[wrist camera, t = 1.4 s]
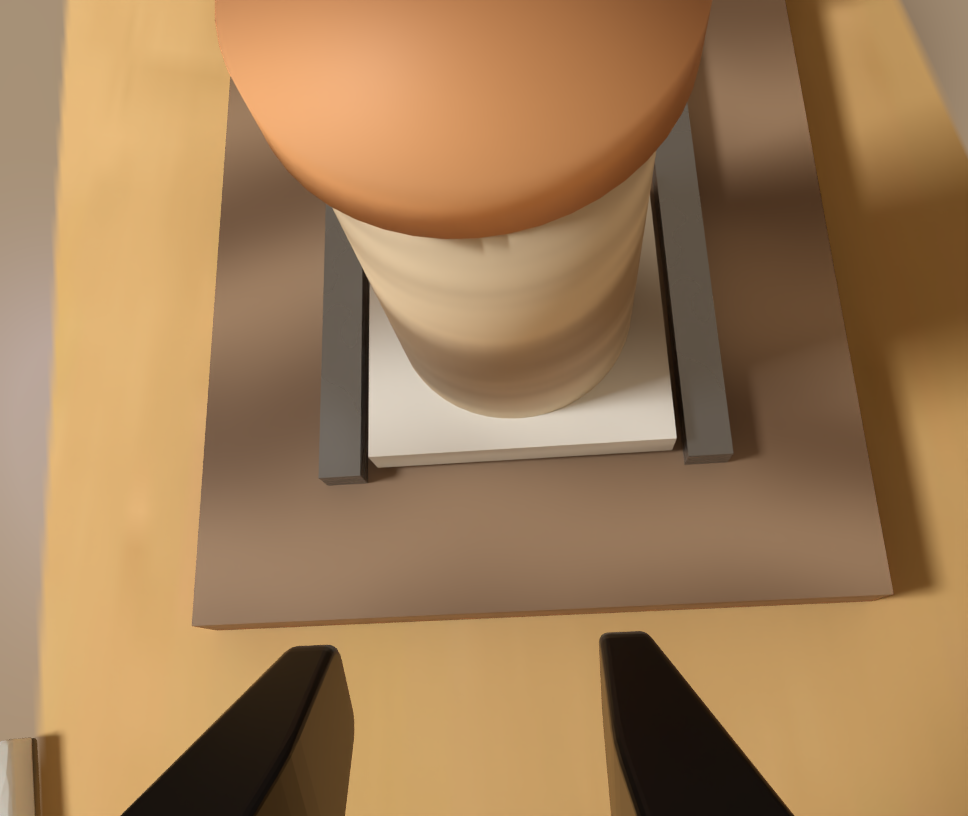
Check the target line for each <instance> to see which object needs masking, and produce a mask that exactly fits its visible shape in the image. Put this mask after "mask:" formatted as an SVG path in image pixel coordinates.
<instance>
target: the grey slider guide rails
mask: <svg viewBox="0 0 968 816" xmlns="http://www.w3.org/2000/svg"><path fill="white" fill-rule="evenodd" d="M652 181H653V190H654V199H655V208H656V216H657V225H658V234H659V243H660V252H661V261H662V270H663V279H664V288H665V297H666V305H667V314H668V323H669V332H670V341H671V350H672V359H673V368H674V377H675V386H676V394H677V403H678V412H679V421H680V430H681V439H682V448H683V457H684V465H690V464H707V463H725V462H728V461H729V459H730V458H731V456H732V455H733V446H732V438H731V431H730V423H729V416H728V408H727V400H726V393H725V385H724V378H723V370H722V362H721V355H720V347H719V340H718V332H717V324H716V317H715V309H714V302H713V294H712V286H711V279H710V271H709V264H708V256H707V248H706V241H705V233H704V226H703V218H702V210H701V203H700V195H699V188H698V180H697V172H696V165H695V157H694V150H693V142H692V134H691V127H690V119H689V112H688V104H687V103H686V106H685V108H684V110H683V112H682V114H681V116H680V118H679V119H678V121H677V122H676V124H675V126H674V127H673V129H672V130H671V132H670V133H669V135H668V137H667V138H666V139H665V140H664V142H663V143H662V144H661V145H660V146H659V148H658V149H657V150H656V156H655V162H654V169H653V176H652ZM368 409H369V280H368V278H367V276H366V274H365V272H364V270H363V268H362V266H361V264H360V262H359V260H358V258H357V256H356V254H355V252H354V250H353V248H352V246H351V244H350V242H349V240H348V238H347V236H346V234H345V232H344V230H343V228H342V226H341V224H340V222H339V220H338V218H337V216H336V214H335V212H334V210H333V208H332V207H330V206H329V205H327V204H326V212H325V250H324V288H323V326H322V364H321V402H320V440H319V477H318V478H319V479H320V480H321V481H323V482H324V483H325V484H326V485H327V486H331V485H349V484H366V483H368Z"/></svg>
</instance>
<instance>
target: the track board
mask: <svg viewBox="0 0 968 816" xmlns="http://www.w3.org/2000/svg"><path fill="white" fill-rule="evenodd" d="M687 104H688V112H689V119H690V127H691V134H692V142H693V150H694V157H695V165H696V172H697V180H698V188H699V195H700V203H701V210H702V218H703V226H704V233H705V241H706V248H707V256H708V264H709V271H710V279H711V286H712V294H713V302H714V309H715V317H716V324H717V332H718V340H719V347H720V355H721V362H722V370H723V378H724V385H725V393H726V400H727V408H728V416H729V423H730V431H731V438H732V446H733V455H732V456H731V458H730V459H729V461H728V462H725V463H707V464H690V465H684V457H683V448H682V439H681V430H680V421H679V412H678V403H677V394H676V386H675V377H674V368H673V359H672V350H671V341H670V332H669V323H668V314H667V305H666V297H665V288H664V279H663V270H662V261H661V252H660V243H659V234H658V225H657V216H656V208H655V199H654V190H653V181H652V182H651V189H650V201H651V210H652V219H653V228H654V237H655V246H656V255H657V264H658V273H659V282H660V291H661V300H662V309H663V318H664V327H665V336H666V345H667V354H668V364H669V373H670V382H671V391H672V400H673V409H674V418H675V427H676V436H677V439H676V441H675V444H674V446H673V449H672V450H666V451H650V452H633V453H616V454H600V455H583V456H566V457H550V458H533V459H516V460H500V461H483V462H466V463H450V464H433V465H416V466H400V467H383V468H378V467H377V466H376V465H375V464H374V463H373V462H372V461H371V460H370V458H369V457H368V483H366V484H349V485H331V486H327V485H326V484H325V483H324V482H323V481H321V480H320V479H319V478H318V477H319V440H320V402H321V364H322V326H323V288H324V250H325V212H326V203H325V202H323V201H322V200H320V199H319V198H318V197H316V196H315V195H313V194H312V193H310V192H309V191H308V190H307V189H305V188H304V187H303V186H302V185H301V184H300V183H299V182H298V181H297V180H296V179H295V178H294V177H293V176H292V175H291V174H290V173H289V172H288V171H287V170H286V168H285V167H284V166H283V165H282V163H281V162H280V161H279V159H278V158H277V157H276V155H275V154H274V153H273V151H272V150H271V148H270V146H269V144H268V143H267V141H266V139H265V137H264V135H263V134H262V132H261V130H260V128H259V126H258V125H257V123H256V121H255V119H254V118H253V116H252V114H251V112H250V110H249V109H248V107H247V105H246V103H245V102H244V100H243V98H242V96H241V94H240V93H239V91H238V89H237V87H236V85H235V83H234V81H233V80H232V78H231V76H230V90H229V104H228V119H227V133H226V147H225V161H224V175H223V190H222V204H221V218H220V232H219V247H218V261H217V275H216V289H215V303H214V318H213V332H212V346H211V360H210V375H209V389H208V403H207V417H206V432H205V446H204V460H203V474H202V488H201V503H200V517H199V531H198V545H197V560H196V574H195V588H194V602H193V616H192V626H195V627H201V628H206V629H212V630H234V629H257V628H279V627H301V626H324V625H346V624H369V623H391V622H414V621H436V620H458V619H481V618H503V617H526V616H548V615H571V614H593V613H616V612H638V611H660V610H683V609H705V608H728V607H750V606H773V605H795V604H817V603H840V602H862V601H873V600H877V599H880V598H883V597H887V596H890V595H893V588H892V583H891V577H890V572H889V566H888V561H887V555H886V550H885V544H884V539H883V533H882V528H881V522H880V517H879V512H878V506H877V501H876V495H875V490H874V484H873V479H872V473H871V468H870V462H869V457H868V451H867V446H866V440H865V435H864V429H863V424H862V419H861V413H860V408H859V402H858V397H857V391H856V386H855V380H854V375H853V369H852V364H851V358H850V353H849V347H848V342H847V336H846V331H845V326H844V320H843V315H842V309H841V304H840V298H839V293H838V287H837V282H836V276H835V271H834V265H833V260H832V254H831V249H830V244H829V238H828V233H827V227H826V222H825V216H824V211H823V205H822V200H821V194H820V189H819V183H818V178H817V172H816V167H815V161H814V156H813V151H812V145H811V140H810V134H809V129H808V123H807V118H806V112H805V107H804V101H803V96H802V90H801V85H800V79H799V74H798V68H797V63H796V58H795V52H794V47H793V41H792V36H791V30H790V25H789V19H788V14H787V8H786V3H785V0H712V5H711V10H710V15H709V20H708V25H707V30H706V35H705V40H704V45H703V50H702V55H701V60H700V65H699V68H698V72H697V76H696V80H695V83H694V87H693V90H692V92H691V94H690V97H689V99H688V101H687ZM369 307H370V282H369ZM368 439H369V409H368Z"/></svg>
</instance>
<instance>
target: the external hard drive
mask: <svg viewBox="0 0 968 816" xmlns="http://www.w3.org/2000/svg"><path fill="white" fill-rule="evenodd" d="M37 747H38V744H37V740H36V738H22V739H9V740H5V741H0V816H37V806H38V749H37Z"/></svg>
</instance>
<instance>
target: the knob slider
mask: <svg viewBox="0 0 968 816" xmlns="http://www.w3.org/2000/svg"><path fill="white" fill-rule="evenodd" d="M711 5H712V0H215V23H216V29H217V35H218V41H219V47H220V50H221V53H222V56H223V58H224V61H225V64H226V67H227V70H228V72H229V74H230V76H231V78H232V80H233V81H234V83H235V85H236V87H237V89H238V91H239V93H240V94H241V96H242V98H243V100H244V102H245V103H246V105H247V107H248V109H249V110H250V112H251V114H252V116H253V118H254V119H255V121H256V123H257V125H258V126H259V128H260V130H261V132H262V134H263V135H264V137H265V139H266V141H267V143H268V144H269V146H270V148H271V150H272V151H273V153H274V154H275V155H276V157H277V158H278V159H279V161H280V162H281V163H282V165H283V166H284V167H285V168H286V170H287V171H288V172H289V173H290V174H291V175H292V176H293V177H294V178H295V179H296V180H297V181H298V182H299V183H300V184H301V185H302V186H303V187H304V188H305V189H307V190H308V191H309V192H310V193H312V194H313V195H315V196H316V197H318V198H319V199H320V200H322V201H323V202H325V203H326V204H327V205H329V206H330V207H332V208H333V210H334V212H335V214H336V216H337V218H338V220H339V222H340V224H341V226H342V228H343V230H344V232H345V234H346V236H347V238H348V240H349V242H350V244H351V246H352V248H353V250H354V252H355V254H356V256H357V258H358V260H359V262H360V264H361V266H362V268H363V270H364V272H365V274H366V276H367V278H368V280H369V282H370V307H369V439H368V457H369V458H370V460H371V461H372V462H373V463H374V464H375V465H376V466H377V467H378V468H383V467H400V466H416V465H433V464H450V463H466V462H483V461H500V460H516V459H533V458H550V457H566V456H583V455H600V454H616V453H633V452H650V451H666V450H672V449H673V446H674V444H675V441H676V439H677V436H676V427H675V418H674V409H673V400H672V391H671V382H670V373H669V364H668V354H667V345H666V336H665V327H664V318H663V309H662V300H661V291H660V282H659V273H658V264H657V255H656V246H655V237H654V228H653V219H652V210H651V201H650V189H651V182H652V176H653V169H654V162H655V156H656V150H657V149H658V148H659V146H660V145H661V144H662V143H663V142H664V140H665V139H666V138H667V137H668V135H669V133H670V132H671V130H672V129H673V127H674V126H675V124H676V122H677V121H678V119H679V118H680V116H681V114H682V112H683V110H684V108H685V106H686V103H687V101H688V99H689V97H690V94H691V92H692V90H693V87H694V83H695V80H696V76H697V72H698V68H699V65H700V60H701V55H702V50H703V45H704V40H705V35H706V30H707V25H708V20H709V15H710V10H711Z"/></svg>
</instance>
